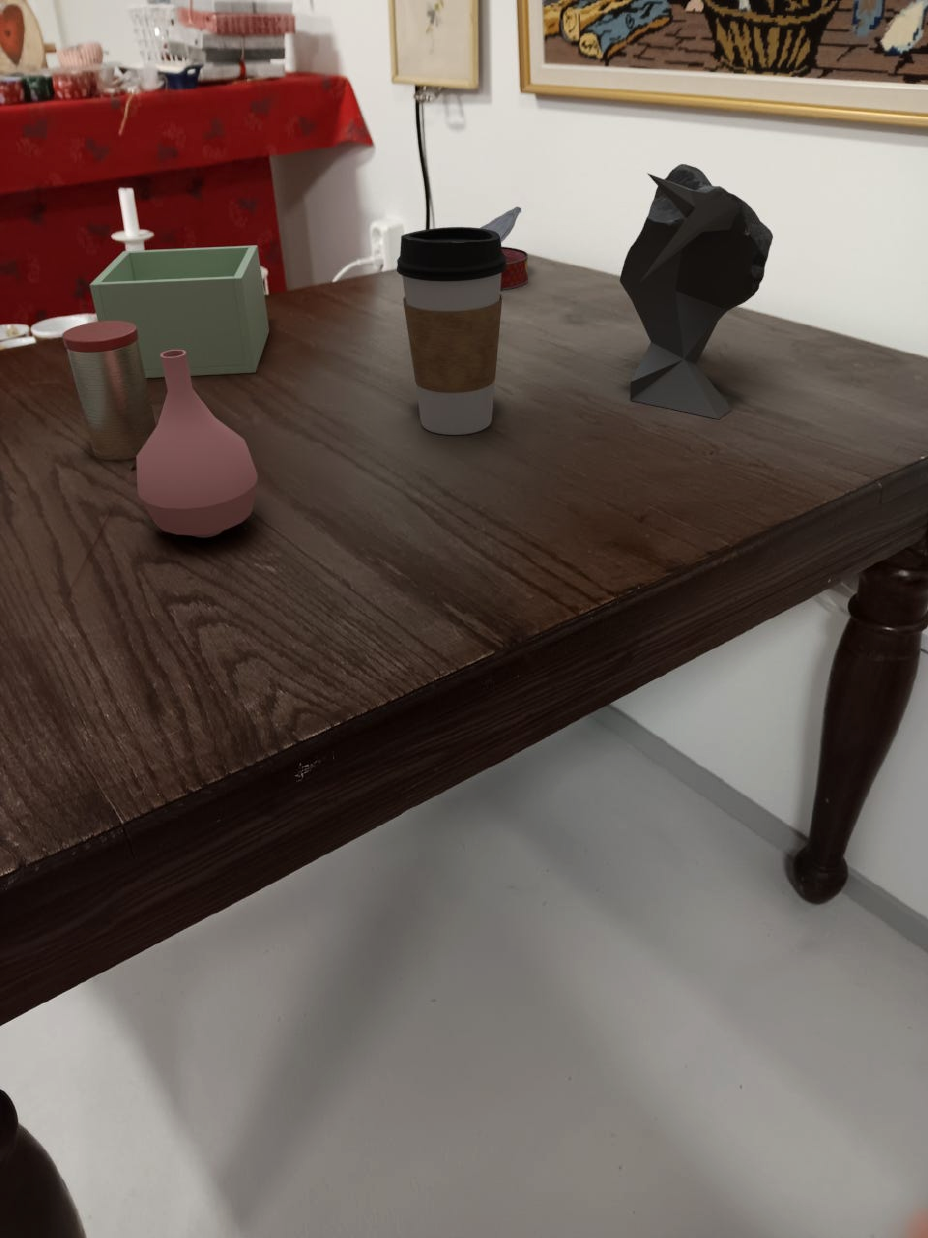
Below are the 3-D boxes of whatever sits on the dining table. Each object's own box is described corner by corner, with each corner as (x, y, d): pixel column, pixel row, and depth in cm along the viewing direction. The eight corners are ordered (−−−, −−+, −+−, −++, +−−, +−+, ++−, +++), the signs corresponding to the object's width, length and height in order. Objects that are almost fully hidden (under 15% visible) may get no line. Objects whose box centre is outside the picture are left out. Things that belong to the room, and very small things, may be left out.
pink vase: (274, 544, 63) (246, 363, 56) (154, 567, 60) (111, 382, 54) (253, 496, 69) (226, 328, 62) (144, 515, 67) (104, 344, 60)
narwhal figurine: (786, 367, 89) (821, 153, 79) (719, 419, 79) (749, 180, 69) (647, 342, 96) (663, 143, 86) (569, 387, 86) (577, 167, 76)
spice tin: (87, 473, 73) (52, 343, 67) (103, 447, 77) (72, 322, 72) (156, 470, 73) (127, 339, 68) (168, 443, 77) (142, 318, 72)
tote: (111, 380, 91) (89, 284, 86) (141, 337, 102) (122, 250, 97) (255, 372, 92) (241, 277, 87) (269, 331, 103) (257, 245, 98)
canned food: (508, 327, 117) (496, 262, 109) (438, 309, 121) (421, 244, 112) (550, 265, 121) (541, 197, 113) (481, 249, 125) (468, 182, 116)
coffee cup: (388, 434, 78) (374, 239, 70) (430, 398, 84) (422, 217, 76) (485, 447, 75) (482, 246, 67) (520, 409, 82) (522, 222, 73)
